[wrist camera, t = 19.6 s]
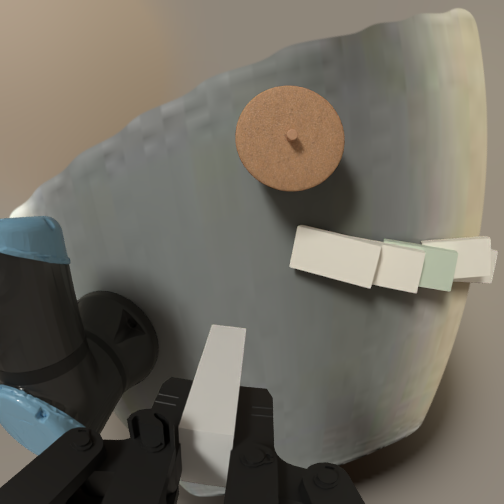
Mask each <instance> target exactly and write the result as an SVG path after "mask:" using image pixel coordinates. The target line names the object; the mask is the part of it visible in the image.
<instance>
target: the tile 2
mask: <svg viewBox="0 0 504 504" xmlns="http://www.w3.org/2000/svg"><path fill="white" fill-rule="evenodd" d="M351 237H352V236H351ZM355 238H358V237H355ZM359 239H363V238H359ZM363 240H367V241H371V242H375V243H378V244H381V251H380V255H379V259H378V263H377V267H376V270H375V274H374V278H373V281H372V285H377V286H382V287H387V288H392V289H397V290H402V291H407V292H412V293H417V290H418V285H419V281H420V277H421V272H422V268H423V263H424V259H425V254H426V253H425V251H424V250H420V249H415V248H410V247H405V246H400V245H395V244H390V243H385V242H379V241H374V240H369V239H363Z"/></svg>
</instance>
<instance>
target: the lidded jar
mask: <svg viewBox="0 0 504 504" xmlns="http://www.w3.org/2000/svg"><path fill="white" fill-rule="evenodd" d="M235 136H236V147H237V151H238V154H239V157H240V159H241V161H242V163H243V165H244V166H245V168H246V169H247V170H248V172H249V173H250V174H251V175H252V176H253V177H254V178H256V179H257V180H258V181H260V182H261V183H263V184H265V185H267V186H269V187H271V188H274V189H277V190H282V191H301V190H306V189H309V188H312V187H314V186H316V185H318V184H320V183H322V182H323V181H324V180H326V179H327V178H328V177H329V176H330V175H331V174H332V173H333V172H334V170H335V169H336V168H337V166H338V164H339V162H340V160H341V158H342V154H343V151H344V143H345V141H344V130H343V126H342V123H341V120H340V118H339V116H338V114H337V112H336V111H335V109H334V108H333V107H332V106H331V104H330V103H329V102H328V101H327V100H325V99H324V98H323V97H322V96H320V95H319V94H317V93H315V92H313V91H311V90H309V89H306V88H302V87H297V86H279V87H274V88H271V89H268V90H266V91H264V92H262V93H260V94H259V95H257V96H256V97H254V98H253V99H252V100H251V101H250V102H249V103H248V104H247V105H246V107H245V108H244V110H243V111H242V113H241V115H240V117H239V120H238V123H237V127H236V134H235Z"/></svg>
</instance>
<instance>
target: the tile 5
mask: <svg viewBox="0 0 504 504" xmlns="http://www.w3.org/2000/svg"><path fill="white" fill-rule="evenodd" d="M497 254H498V251H496V250H494V249H491V268H490V276H479V277H467V278H455V279H453V282H475V283H491V282H492V278H493V273H494V269H495V264H496V258H497Z"/></svg>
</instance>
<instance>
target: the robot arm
mask: <svg viewBox="0 0 504 504" xmlns="http://www.w3.org/2000/svg"><path fill="white" fill-rule="evenodd" d="M69 264H70V258H68V256H67V252H66V247H65V242H64V238H63V233H62V229H61V227H60V225H59V223H58V222H57V221H56V220H55V219H53V218H51V217H48V216H34V217H19V218H4V219H0V424H1V425H2V426H3V427H4V428H5V430H6V431H7V432H8V433H9V434H10V435H11V436H12V437H13V438H14V439H15V440H17V441H18V442H19V443H20V444H21V445H23V446H24V447H25V448H27V449H28V450H30V451H31V452H33V453H34V454H36V455H38V456H37V457H36V458H35V459H34V460H33V461H31V462H30V463H29V464H28V465H27V466H26V467H24V468H23V469H22V470H21V471H20V472H19V473H17V474H16V475H15V476H14V477H13V478H11V479H10V480H9V481H8V482H7V483H6V484H4V485H3V486H2V487H1V488H0V504H177V499H178V495H179V486H178V485H179V481H180V477H181V479H182V481H186V482H192V483H198V484H205V485H212V486H219V487H226V490H225V498H224V504H365V503H364V501H363V500H362V498H361V496H360V494H359V493H358V491H357V489H356V487H355V486H354V484H353V482H352V481H351V479H350V477H349V475H348V474H347V473H346V471H345V470H344V469H343V468H341V467H339V466H337V465H336V464H331V463H317V464H314V465H311V466H310V467H308V468H307V469H305V468H301V467H297V466H294V465H291V464H288V463H286V462H285V461H283V460H282V459H281V458H280V457H279V456H278V455H277V453H276V452H275V449H274V429H273V398H272V396H271V395H270V393H269V392H268V390H267V389H263V388H252V387H243V386H240V378H241V369H242V360H243V351H244V342H245V334H246V328H237V327H229V326H221V325H213V324H212V327H211V330H210V333H209V336H208V339H207V342H206V345H205V348H204V351H203V354H202V357H201V360H200V363H199V366H198V369H197V372H196V375H195V378H194V381H191V380H185V379H179V378H174V377H171V378H170V379H169V380H167V381H166V382H165V383H163V385H162V387H161V389H160V391H159V394H158V396H157V398H156V400H155V402H154V404H153V407H152V409H144V410H139V411H137V412H135V413H133V414H131V415H130V416H129V418H128V419H127V421H128V427H129V432H130V438H129V439H125V440H103V439H102V437H101V435H100V433H101V431H102V430H103V428H104V426H105V424H106V422H107V421H108V419H109V417H110V415H111V413H112V412H113V410H114V408H115V406H116V405H117V403H118V401H119V399H120V398H121V396H122V394H123V393H124V392H125V391H126V390H128V389H129V388H131V387H132V386H134V385H136V384H138V383H140V382H141V381H143V380H144V379H145V378H146V377H147V376H148V375H149V373H150V372H151V370H152V368H153V366H154V364H155V362H156V360H157V356H158V340H157V336H156V333H155V330H154V328H153V326H152V324H151V322H150V321H149V319H148V318H147V316H146V315H145V314H144V313H143V312H142V310H141V309H140V308H139V307H137V306H136V305H135V304H134V303H133V302H131V301H130V300H128V299H127V298H125V297H123V296H121V295H118V294H116V293H112V292H108V291H95V292H91V293H88V294H86V295H84V296H83V297H81V298H80V299H79V300H77V299H76V295H75V290H74V286H73V281H72V276H71V272H70V266H69Z"/></svg>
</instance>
